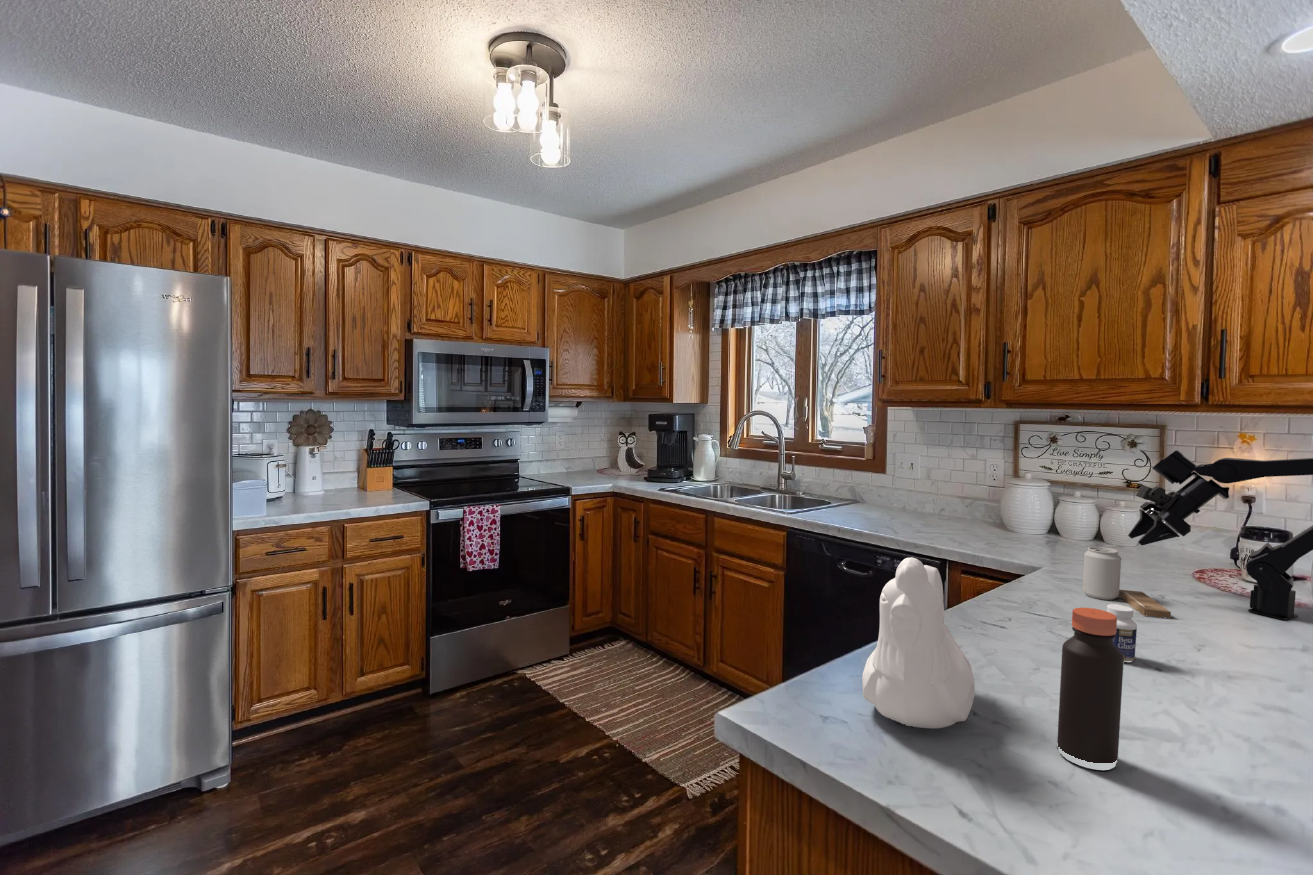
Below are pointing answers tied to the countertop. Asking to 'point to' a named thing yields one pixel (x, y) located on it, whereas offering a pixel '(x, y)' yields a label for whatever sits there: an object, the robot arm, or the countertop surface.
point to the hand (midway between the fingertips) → (1134, 540)
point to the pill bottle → (1124, 630)
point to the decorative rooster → (917, 654)
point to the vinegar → (1091, 688)
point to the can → (1101, 573)
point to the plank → (1144, 603)
